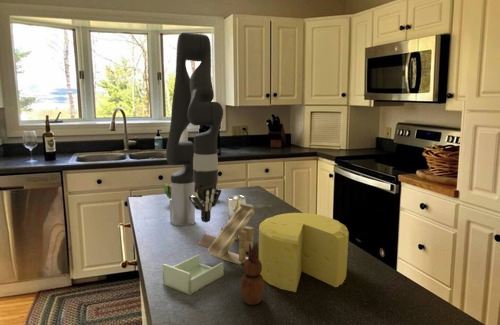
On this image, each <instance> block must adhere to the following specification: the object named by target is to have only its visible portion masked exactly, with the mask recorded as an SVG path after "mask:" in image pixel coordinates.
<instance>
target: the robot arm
mask: <svg viewBox="0 0 500 325" xmlns="http://www.w3.org/2000/svg"><path fill="white" fill-rule="evenodd" d="M175 57H176V59H175V60H176V62H175V79H174V86H173V87H174V88H173V94H172V103H171V113H170V114H171V116H170V117H171V118H170V126H169V132H168V137H167V142H166V149H165V158H166V162H167V164H168V165H170V166H182V167H181V169H178V170H177V171H175V172H173V173H171V175H170V185H171V199H169V217H170V218H169V219H170V220H169V221H170V223H172V225H173V226H177V227H178V226H179V227H180V226H181V227H183V226H191V225H193V224H195V223H196V219H195V218H196V215H195V212H196V211H195V210H199V211H200V218H201V222H202V223H208V222H209V223H210V221H211V218H212V217H211V216H212V215H211V214H212V213H211V211H212V208H214V207H216V205H217V203H218V201H219V198H220V195H221V193H222V189H219V188H218V187H217V186H216V183H217V184H218V182H219V161H218V136H219V130H220V127H221V125H222V124H221V123H222V120H223V118H224V117H223V116H224V108H223V106H222V104H221V103H220V102H218V101H213V100H214V98H215V96H214V95H215V94H214V88H213V81H212V47H211V39H210V37H209V36H208V35H207V34H204V33H198V32H197V33H196V32H189V31H181V32H180V33H179V34H178V37H177V42H176V56H175ZM187 61H190V62H200V63H199V65H198V66H197V67H196V69H194V70H193V72H192V74H191V75H189V73H188V70H187V65H186V62H187ZM190 124H191V125H193V126H210V127H209V129H208V130H206V131H204V132H198V133H196V134H194V136H193V142H192V141H190V140H185V141H181V137H182V135H183V133H184V132H185V130H186V129H187V128H188V127H189V125H190ZM194 183H195V185H196V186H195V190H194ZM194 191H195V193H194Z"/></svg>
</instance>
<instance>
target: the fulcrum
mask: <svg viewBox="0 0 500 325" xmlns="http://www.w3.org/2000/svg"><path fill="white" fill-rule="evenodd" d="M224 227H225V226H223V227H221V229H220V230H221V231H222V229H223V228H224ZM221 231H220V232H221ZM249 243H250V245H251V250H252V247H253V248H254V227H252V226H248V225H245V227H244V228H243V231H241V232H239V240H238V253H234V252H231V251H229V249H228V250H227V252H226V253H225V255H224V256H223V257H222V258H218V257H216V258H217V259H219V260H220V259H221V260H224V261H227V262H230V263H233V264H236V265H239V266H241V265H244V263H245V261H246V260H247V259H248V256H247V253H249Z"/></svg>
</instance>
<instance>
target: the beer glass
mask: <svg viewBox="0 0 500 325" xmlns="http://www.w3.org/2000/svg"><path fill="white" fill-rule="evenodd" d="M240 203H245V204H247V202H246V197H245V196H244V195H240V194H239V195H238V194H237V195H235V194H234V195H229V196H227V200H226V214H227V220H228V221H229V220H230V219H231V218H232V216H233V215H234V214H235V212H236V211H237V210H238V208H239V207H240ZM228 221H227V222H228ZM242 231H243V229H242ZM237 240H238V241H239V235H238V236H237V238H236V239H235V241H237Z"/></svg>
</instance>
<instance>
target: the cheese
mask: <svg viewBox="0 0 500 325" xmlns="http://www.w3.org/2000/svg"><path fill="white" fill-rule="evenodd" d="M349 233H350V232H349V230H348V227H347V226H346V225H345V224H343V223H341V222H340V221H339V220H337V219H334V218H331V217H330V216H325V215H321V214H316V213H309V212H289V213H288V212H287V213H280V214H277V215H273V216H271V217H267V218H265V219H264V220H263V221H261V223H259V226H258V260H260V262H261V264H262V271H261V273H260V274H261V275H262V277H263V280H264V282H266V283H267V284H269V285H271V286H273V287H275V288H278V289H280V290H283V291H289V292H294V293H297V290H298V286H299V283H300V278H301V275H302V273H305V274H306V275H308V276H311V277H313V278H314V279H317V280H319V281H322V282H324V283H325V284H328V285H329V286H332V287H334V288H336V287H337V288H338V287H340V286H341V285H343V284H344V283H345V281H344V280H346V279H347V278H346V277H347V270H348V268H347V267H348V253H349V252H348V250H349V237H350V236H349V235H350V234H349ZM343 282H344V283H343ZM339 285H340V286H339Z"/></svg>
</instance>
